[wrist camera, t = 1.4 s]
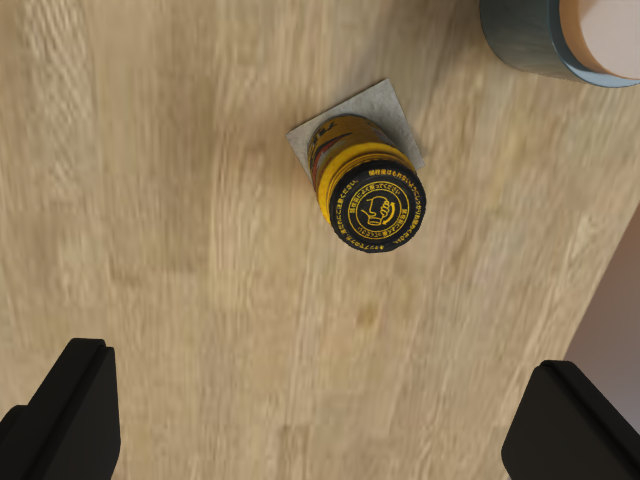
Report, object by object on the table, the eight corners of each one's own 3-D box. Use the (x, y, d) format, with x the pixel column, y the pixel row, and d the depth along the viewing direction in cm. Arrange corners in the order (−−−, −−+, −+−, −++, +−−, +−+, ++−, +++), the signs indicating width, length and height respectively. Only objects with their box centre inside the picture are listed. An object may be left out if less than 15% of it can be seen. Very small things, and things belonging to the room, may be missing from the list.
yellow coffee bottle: (284, 134, 33) (292, 187, 22) (388, 77, 32) (448, 105, 21) (328, 213, 36) (354, 293, 26) (424, 163, 35) (492, 226, 25)
